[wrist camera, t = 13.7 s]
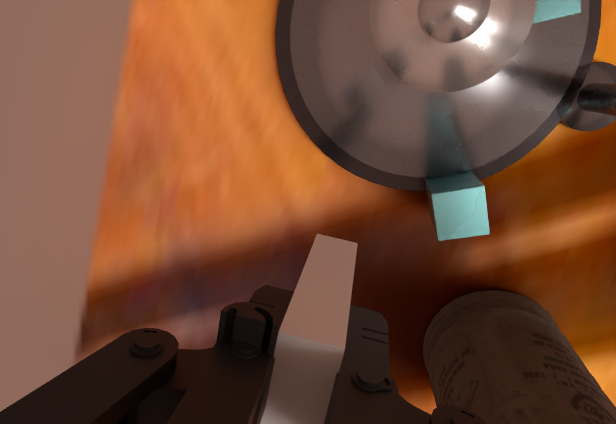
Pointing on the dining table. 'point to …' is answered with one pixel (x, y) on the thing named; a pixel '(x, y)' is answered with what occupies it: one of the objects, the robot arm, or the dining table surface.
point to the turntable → (431, 102)
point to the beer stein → (510, 364)
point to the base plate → (399, 180)
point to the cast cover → (449, 39)
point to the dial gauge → (592, 99)
